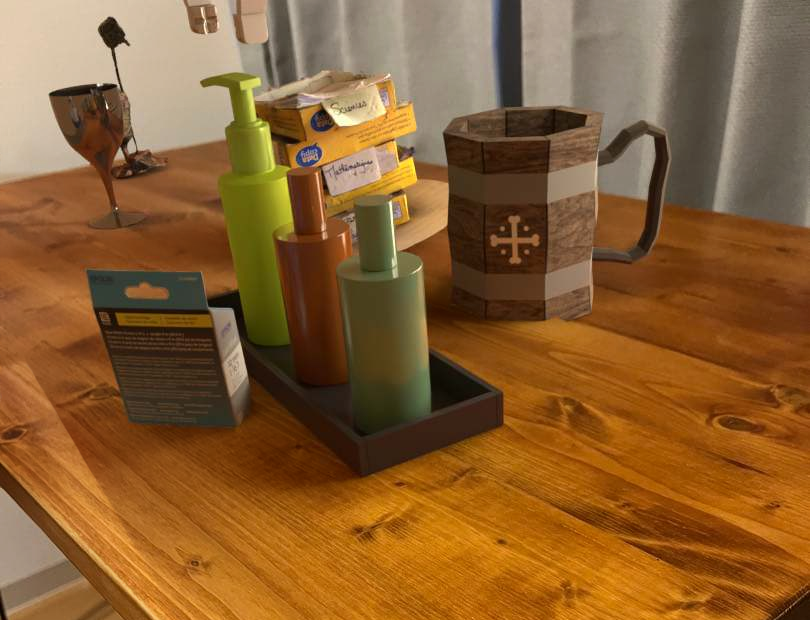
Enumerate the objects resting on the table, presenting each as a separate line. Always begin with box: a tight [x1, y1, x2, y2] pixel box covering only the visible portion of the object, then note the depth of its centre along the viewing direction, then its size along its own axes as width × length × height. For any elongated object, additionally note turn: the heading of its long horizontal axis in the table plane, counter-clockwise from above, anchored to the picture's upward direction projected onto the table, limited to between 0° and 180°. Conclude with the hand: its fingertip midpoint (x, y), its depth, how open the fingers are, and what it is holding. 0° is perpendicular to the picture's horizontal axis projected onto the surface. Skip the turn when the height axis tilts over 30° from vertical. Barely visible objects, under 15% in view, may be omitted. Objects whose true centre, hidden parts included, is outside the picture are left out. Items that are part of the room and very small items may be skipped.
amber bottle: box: [272, 166, 353, 386], centre depth 65 cm, size 6×6×15 cm
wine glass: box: [48, 82, 147, 230], centre depth 107 cm, size 8×8×15 cm
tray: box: [206, 288, 505, 479], centre depth 69 cm, size 11×31×3 cm, turn 31°
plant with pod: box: [89, 15, 169, 178], centre depth 126 cm, size 8×11×20 cm
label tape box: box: [84, 267, 255, 429], centre depth 62 cm, size 9×4×12 cm, turn 77°
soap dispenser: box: [199, 71, 293, 346], centre depth 70 cm, size 6×7×20 cm
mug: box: [442, 104, 673, 323], centre depth 76 cm, size 20×14×15 cm
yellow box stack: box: [253, 68, 449, 256], centre depth 93 cm, size 25×25×17 cm
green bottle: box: [335, 195, 432, 435], centre depth 58 cm, size 6×6×15 cm
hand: (228, 38), depth 63 cm, fingers open, 8 cm apart
